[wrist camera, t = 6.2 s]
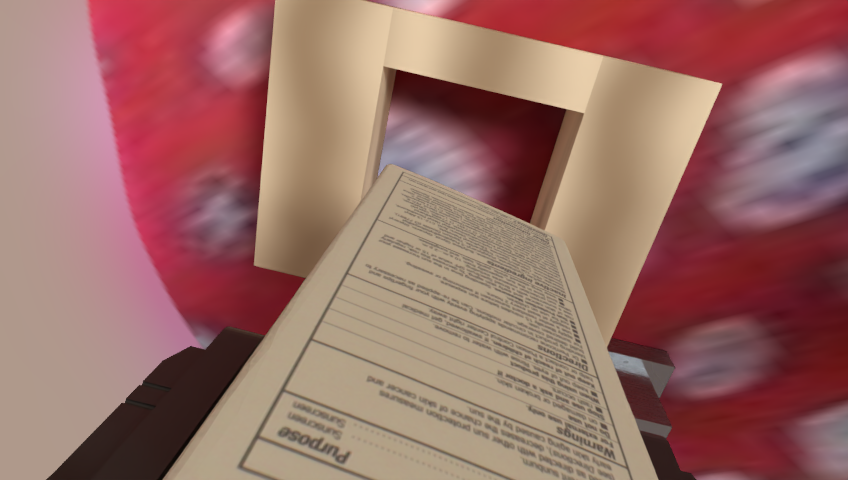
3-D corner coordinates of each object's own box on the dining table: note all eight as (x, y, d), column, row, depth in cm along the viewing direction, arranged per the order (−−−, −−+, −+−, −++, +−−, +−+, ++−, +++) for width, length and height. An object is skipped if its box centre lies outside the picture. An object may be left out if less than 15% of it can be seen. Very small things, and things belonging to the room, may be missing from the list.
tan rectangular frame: (685, 74, 24) (722, 83, 20) (590, 309, 29) (605, 350, 25) (309, -13, 24) (276, -20, 20) (282, 234, 29) (253, 265, 25)
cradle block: (666, 351, 29) (707, 426, 24) (584, 514, 35) (603, 605, 30) (430, 294, 30) (417, 355, 24) (387, 465, 35) (369, 546, 30)
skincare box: (343, 272, 17) (60, 733, 6) (390, 153, 15) (109, 496, 4) (514, 345, 17) (546, 920, 6) (579, 237, 16) (793, 771, 4)
